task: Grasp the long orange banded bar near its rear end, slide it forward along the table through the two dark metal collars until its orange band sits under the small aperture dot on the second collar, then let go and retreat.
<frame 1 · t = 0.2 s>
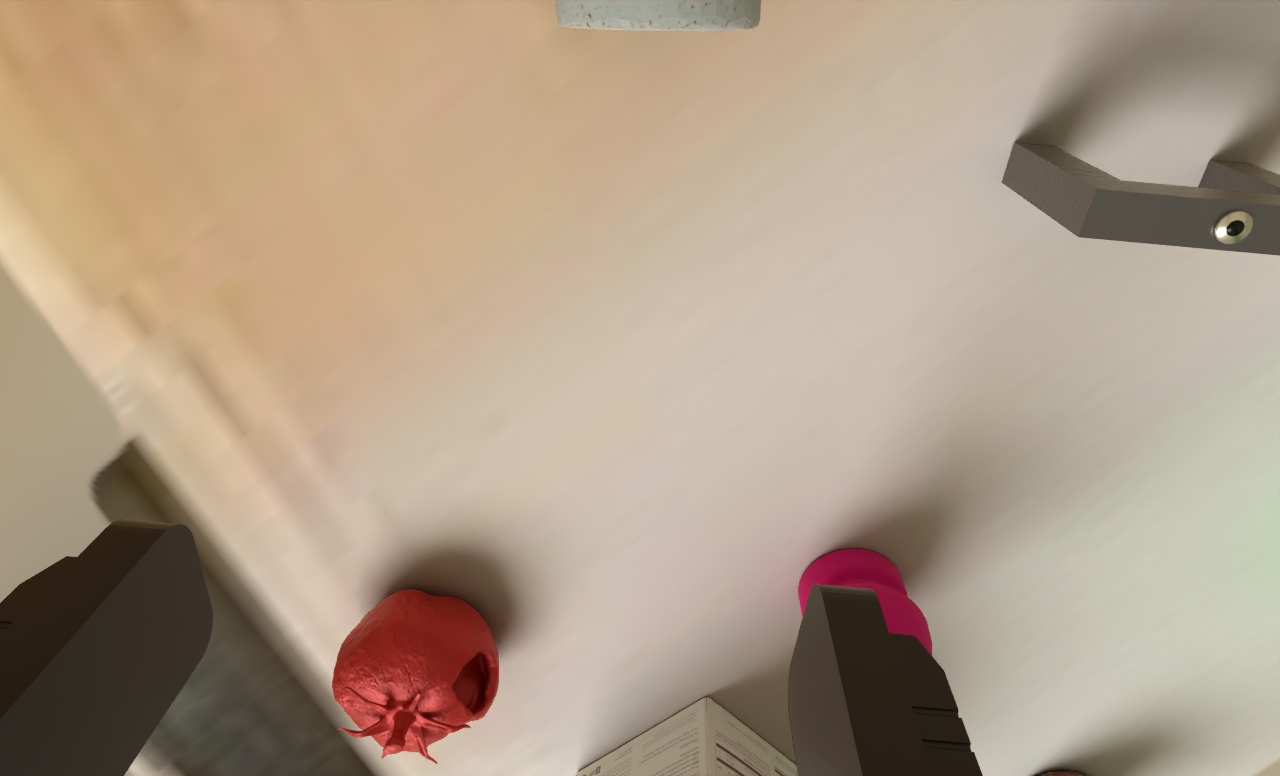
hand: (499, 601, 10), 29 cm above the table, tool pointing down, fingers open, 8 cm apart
pomegranate: (435, 626, 52), on the table
supplement box: (698, 774, 58), on the table
pepper mill: (848, 583, 48), on the table
collar b: (1124, 173, 35), on the table
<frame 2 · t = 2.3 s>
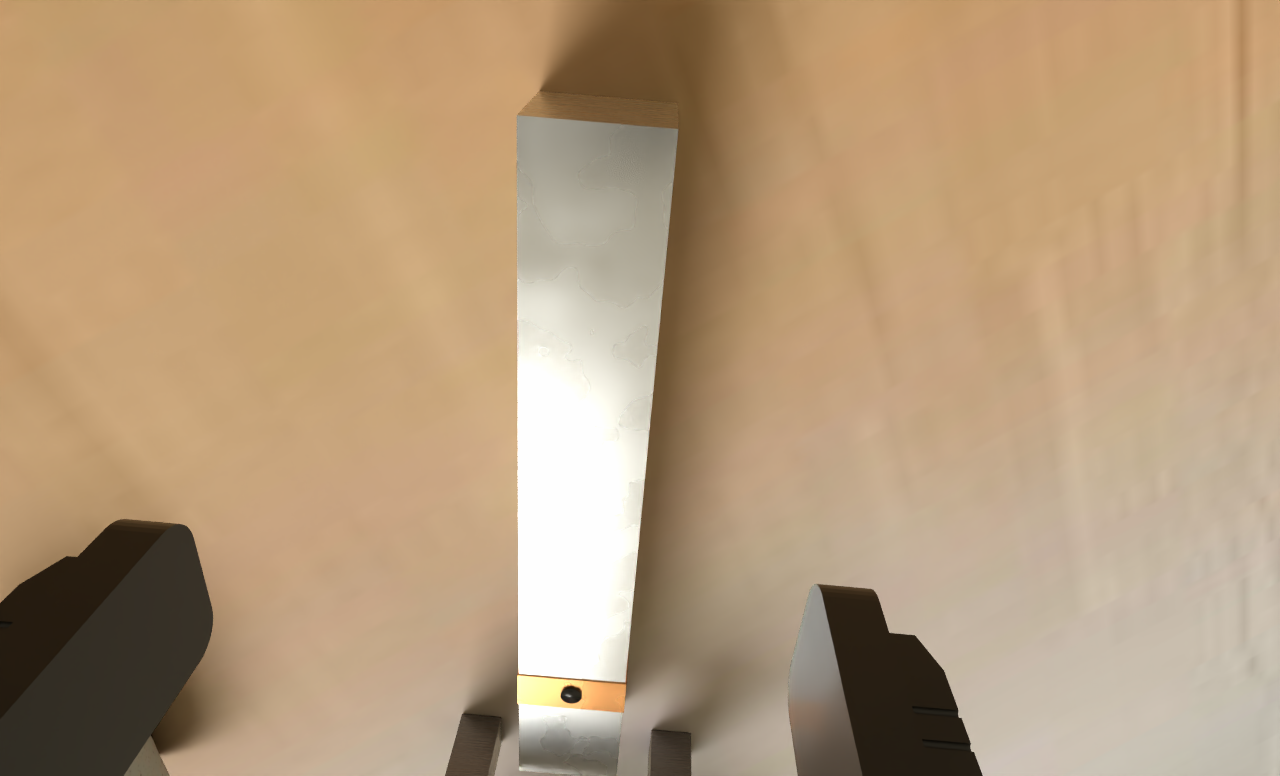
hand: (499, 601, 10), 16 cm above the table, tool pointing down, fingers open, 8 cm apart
orange banded bar: (590, 460, 29), on the table
ceramic mug: (82, 702, 37), on the table
collar a: (575, 736, 37), on the table
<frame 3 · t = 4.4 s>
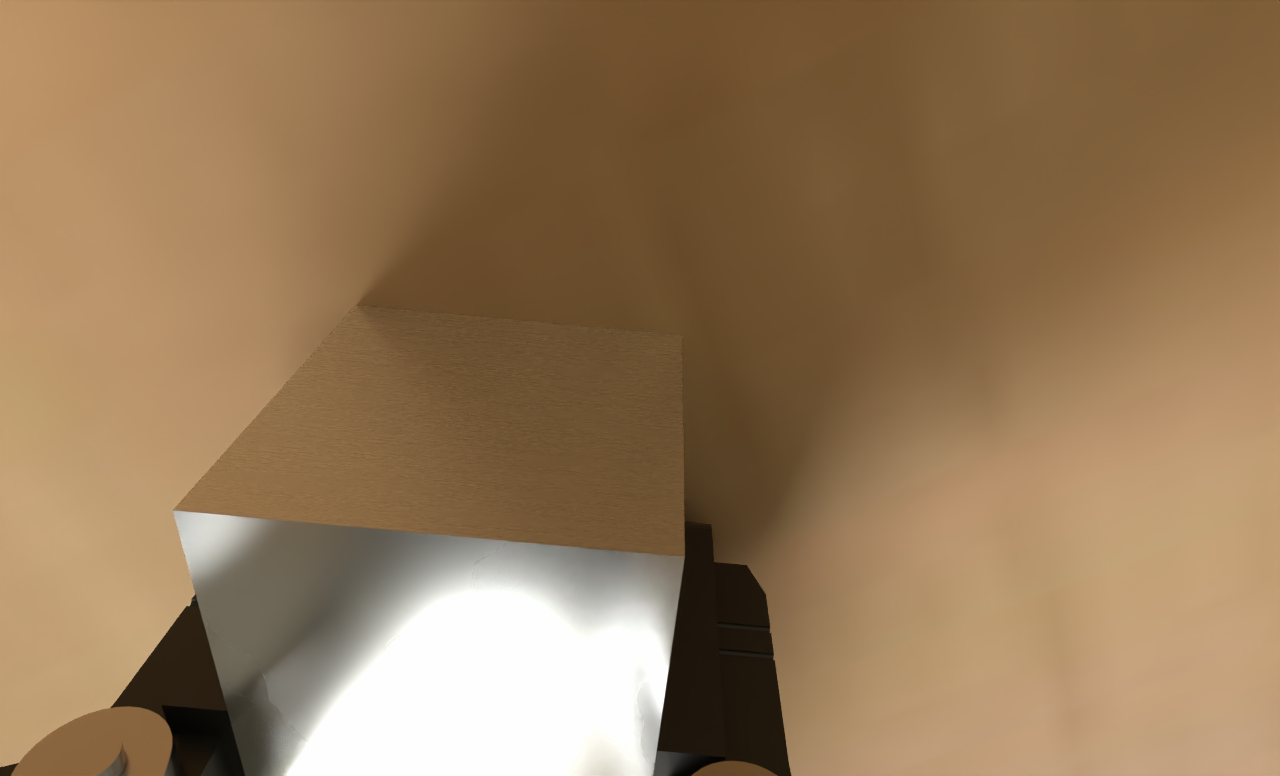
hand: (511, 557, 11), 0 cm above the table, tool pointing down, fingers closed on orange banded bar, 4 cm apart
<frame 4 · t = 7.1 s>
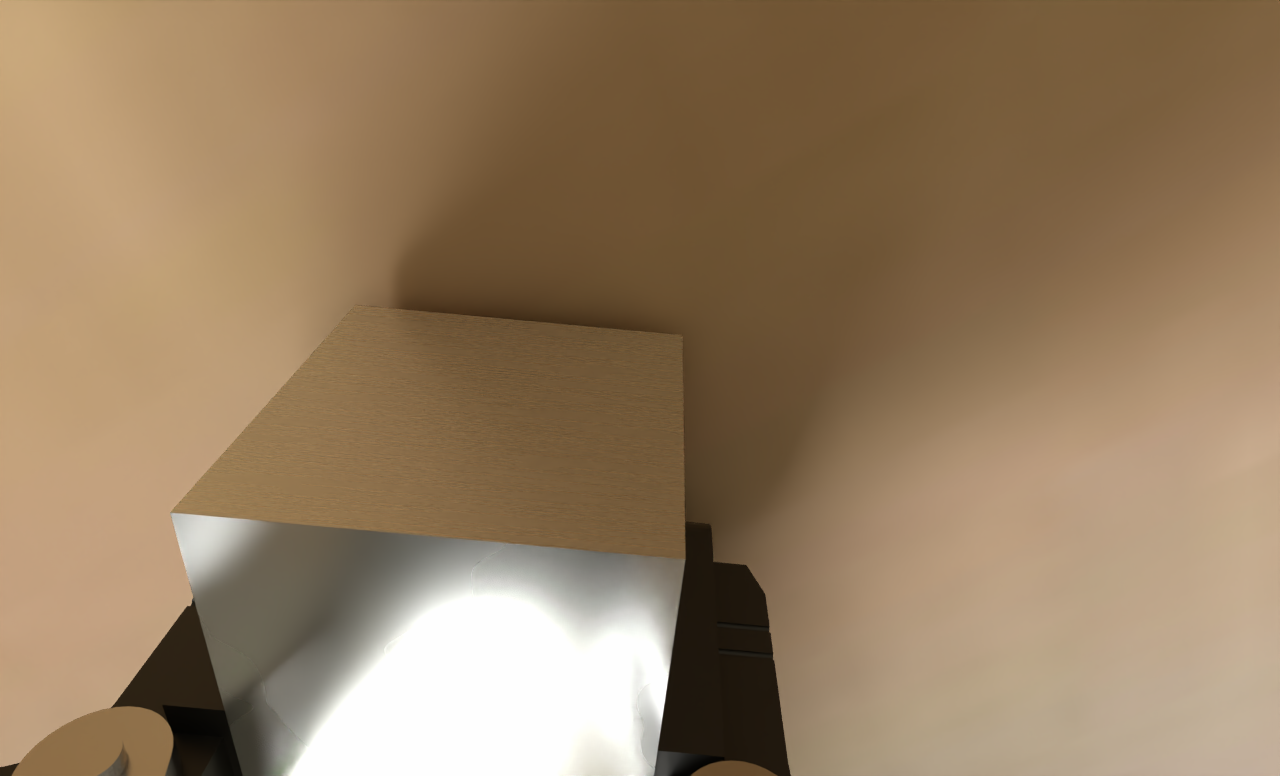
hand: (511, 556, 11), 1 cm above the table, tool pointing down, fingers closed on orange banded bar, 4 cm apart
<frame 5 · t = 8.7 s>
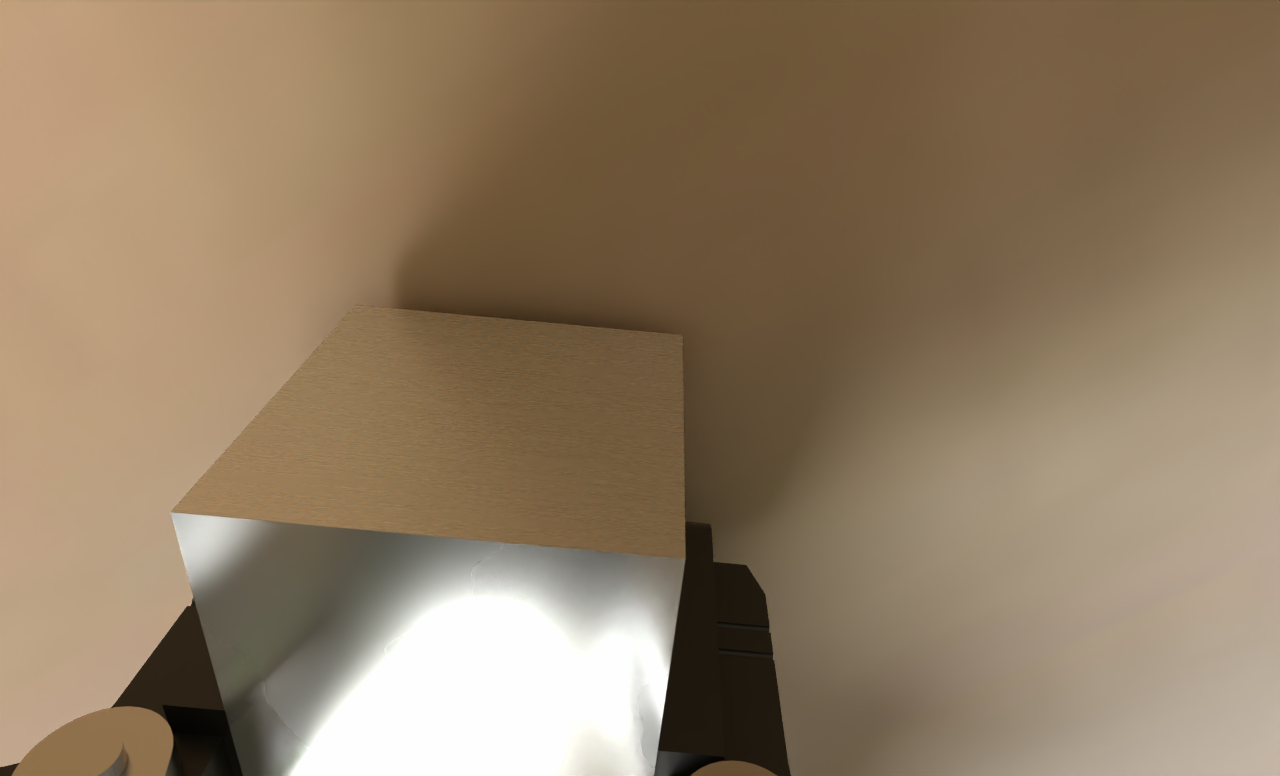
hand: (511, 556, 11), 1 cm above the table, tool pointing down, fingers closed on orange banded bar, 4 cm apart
when the fingers open (1 cm above the table, at t = 9.8 s): orange banded bar stays where it is, on the table.
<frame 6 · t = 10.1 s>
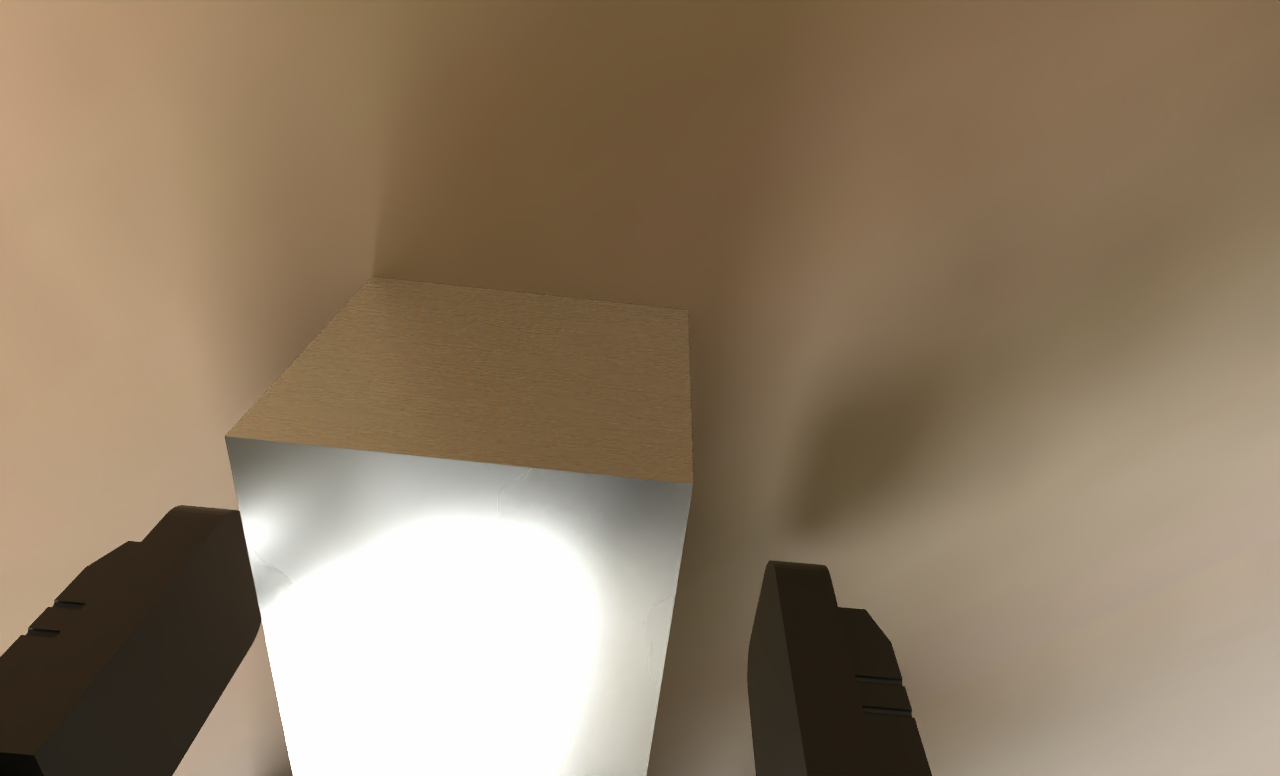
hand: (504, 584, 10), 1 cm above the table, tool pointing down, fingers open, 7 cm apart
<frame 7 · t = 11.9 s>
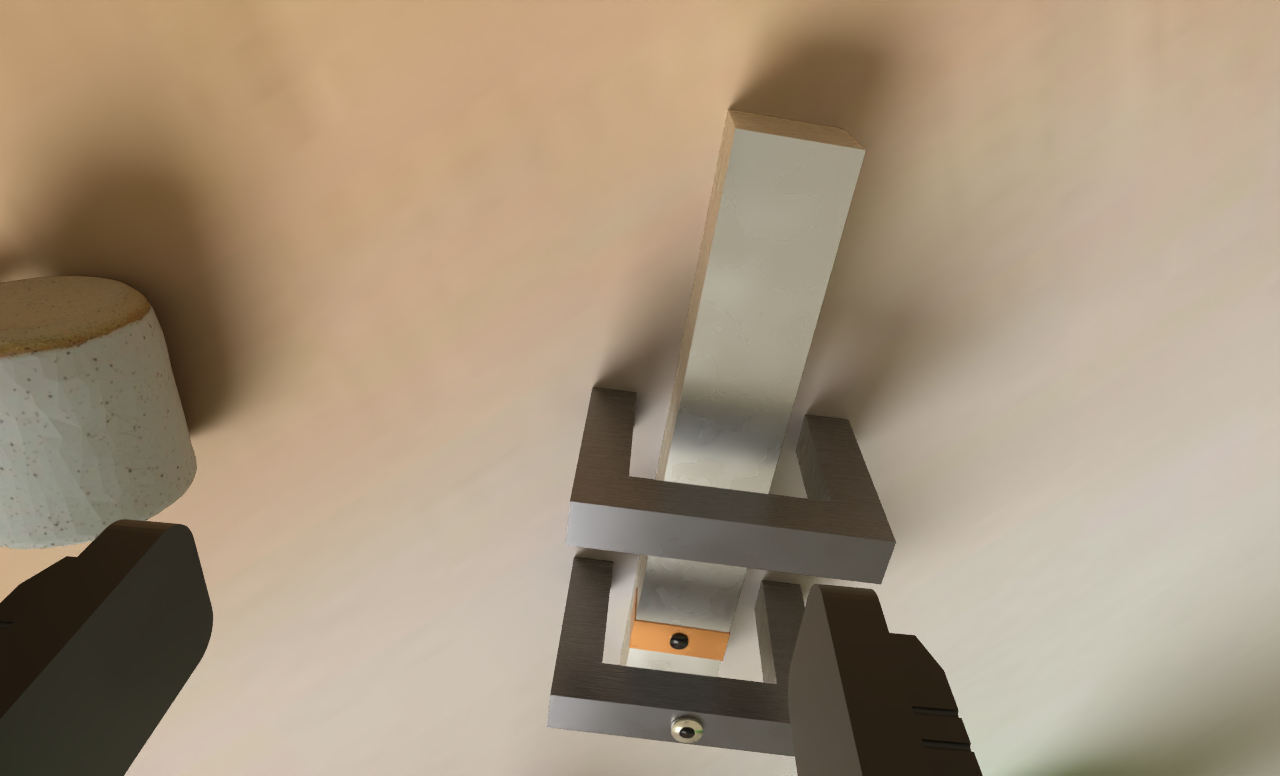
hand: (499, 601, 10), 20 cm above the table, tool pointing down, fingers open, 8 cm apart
orange banded bar: (711, 433, 33), on the table
ceramic mug: (97, 362, 33), on the table
collar a: (717, 422, 32), on the table
collar b: (684, 585, 37), on the table
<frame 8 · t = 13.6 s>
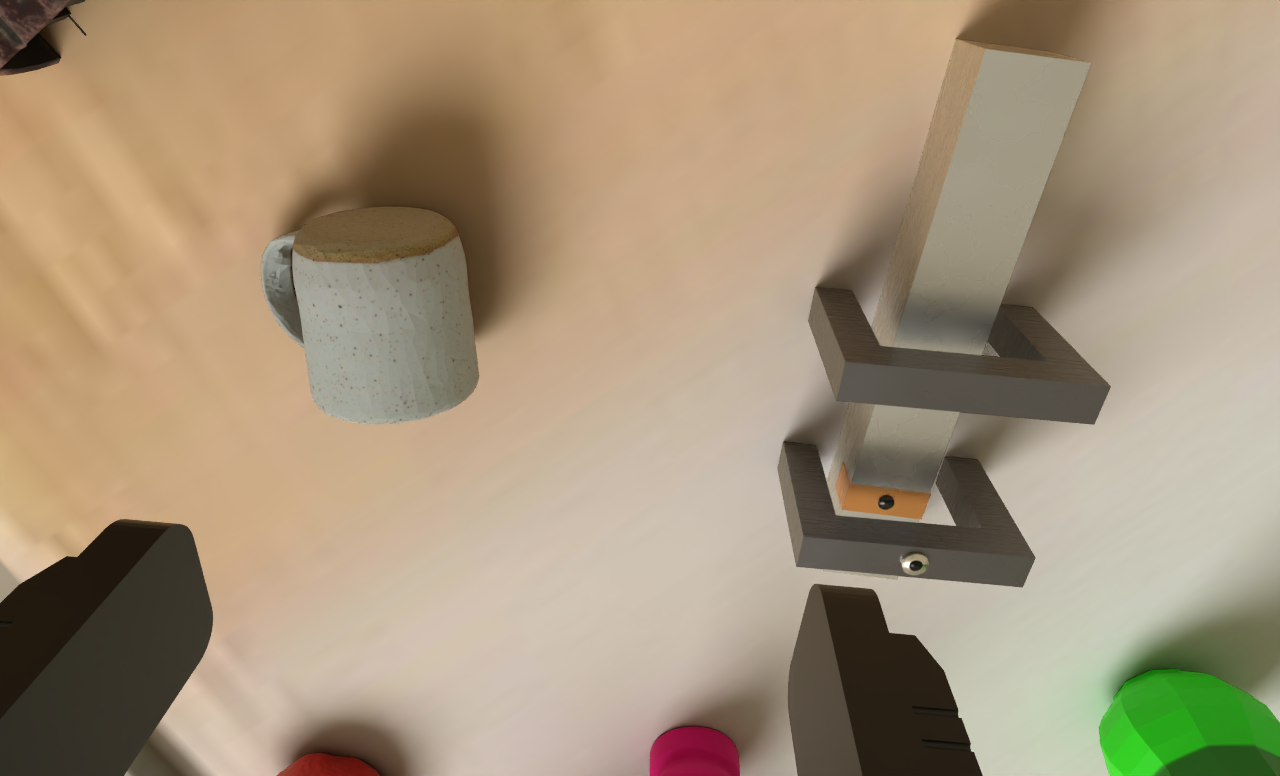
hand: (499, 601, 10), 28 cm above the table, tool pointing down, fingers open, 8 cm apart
orange banded bar: (910, 325, 39), on the table
ceramic mug: (387, 283, 39), on the table
pepper mill: (694, 751, 56), on the table
collar a: (919, 314, 38), on the table
collar b: (876, 464, 43), on the table
plastic bottle: (1154, 693, 51), on the table
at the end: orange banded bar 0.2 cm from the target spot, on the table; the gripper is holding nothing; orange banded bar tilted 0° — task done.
